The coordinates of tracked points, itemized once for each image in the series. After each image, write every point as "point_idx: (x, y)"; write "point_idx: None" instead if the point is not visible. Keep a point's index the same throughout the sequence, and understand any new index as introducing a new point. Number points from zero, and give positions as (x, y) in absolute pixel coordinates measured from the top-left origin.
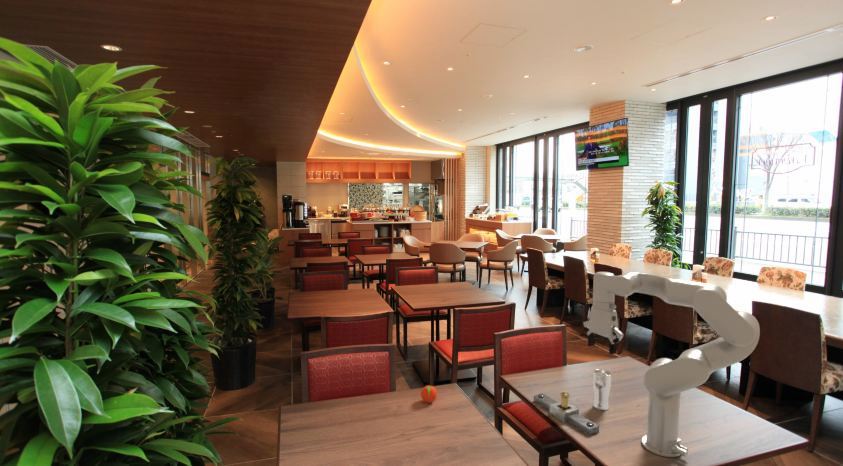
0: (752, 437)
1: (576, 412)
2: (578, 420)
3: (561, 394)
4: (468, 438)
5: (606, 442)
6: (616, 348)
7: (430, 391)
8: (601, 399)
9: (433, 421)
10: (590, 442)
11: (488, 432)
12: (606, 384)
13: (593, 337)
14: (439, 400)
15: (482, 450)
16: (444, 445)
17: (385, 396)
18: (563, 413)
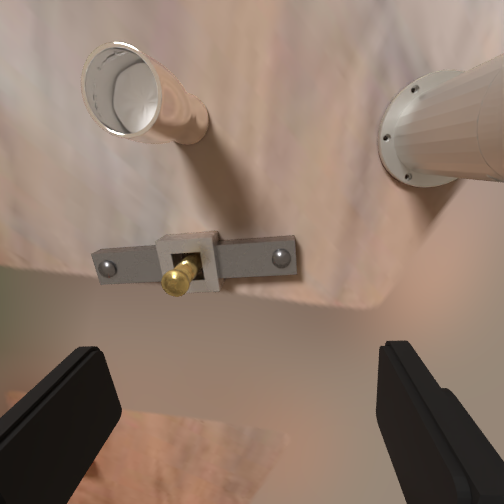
0: None
1: (214, 245)
2: (250, 269)
3: (173, 294)
4: (212, 457)
5: (337, 254)
6: (476, 429)
7: None
8: (190, 131)
9: (143, 472)
10: (319, 287)
11: (205, 425)
12: (180, 112)
13: (28, 464)
14: None
15: (252, 458)
16: (217, 489)
17: None
18: (216, 290)
